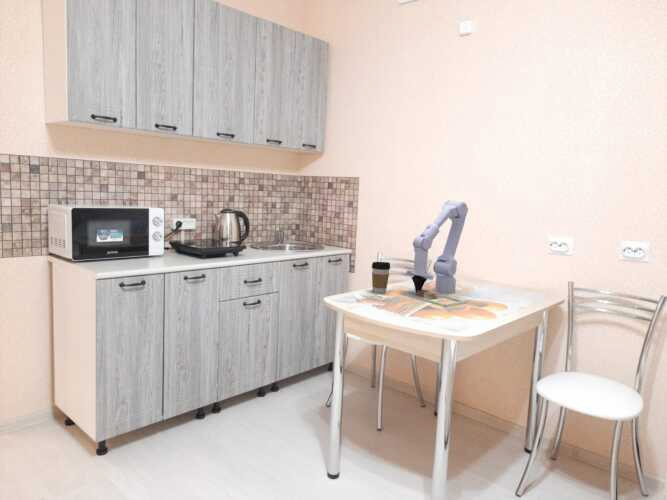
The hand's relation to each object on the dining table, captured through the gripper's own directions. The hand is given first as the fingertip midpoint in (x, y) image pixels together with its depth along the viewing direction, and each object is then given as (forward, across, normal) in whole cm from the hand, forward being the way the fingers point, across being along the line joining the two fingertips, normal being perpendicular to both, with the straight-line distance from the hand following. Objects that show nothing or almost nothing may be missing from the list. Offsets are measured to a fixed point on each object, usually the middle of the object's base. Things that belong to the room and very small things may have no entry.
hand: (418, 292), depth 228 cm
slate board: (+2, +2, 0) cm, 3 cm away
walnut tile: (+1, +3, 0) cm, 3 cm away
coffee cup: (+2, -12, -13) cm, 18 cm away
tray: (+2, +15, 0) cm, 15 cm away
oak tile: (+1, +7, 0) cm, 7 cm away
